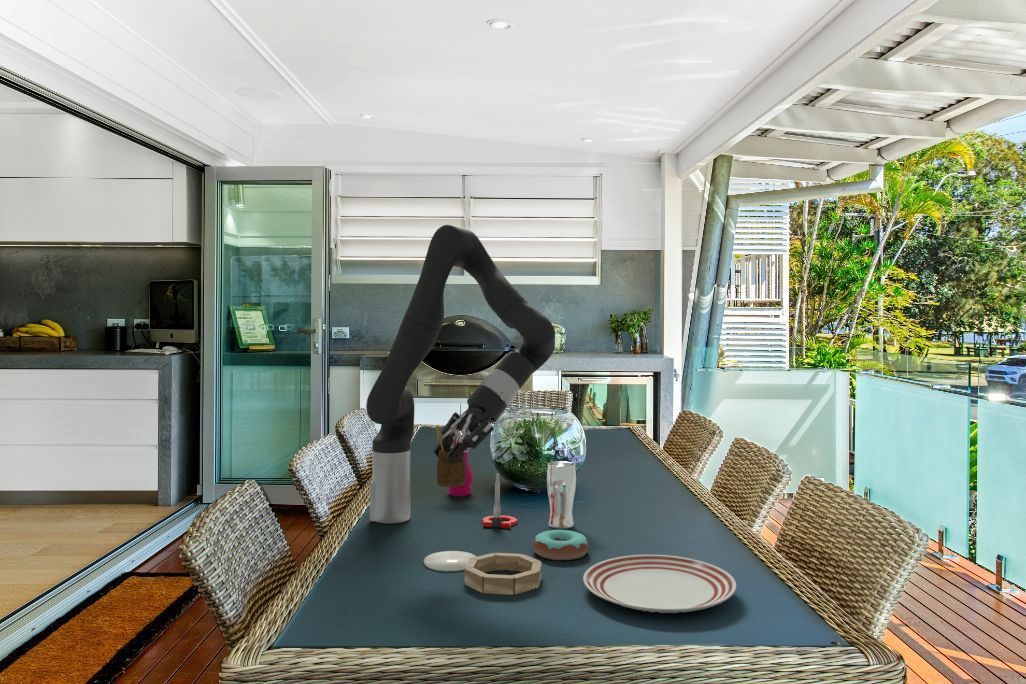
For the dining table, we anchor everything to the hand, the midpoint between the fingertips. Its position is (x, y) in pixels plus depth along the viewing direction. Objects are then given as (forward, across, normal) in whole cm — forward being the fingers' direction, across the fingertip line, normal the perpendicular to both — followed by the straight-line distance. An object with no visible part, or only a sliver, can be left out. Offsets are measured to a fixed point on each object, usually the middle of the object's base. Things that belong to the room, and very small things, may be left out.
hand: (443, 457), depth 154 cm
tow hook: (-2, -19, +34) cm, 39 cm away
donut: (-2, +7, +33) cm, 34 cm away
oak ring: (+12, +15, +19) cm, 27 cm away
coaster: (+14, 0, +17) cm, 22 cm away
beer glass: (-10, -9, +42) cm, 44 cm away
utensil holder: (+3, 0, +6) cm, 6 cm away
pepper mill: (-7, -50, +38) cm, 63 cm away
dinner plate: (-2, +36, +34) cm, 49 cm away
